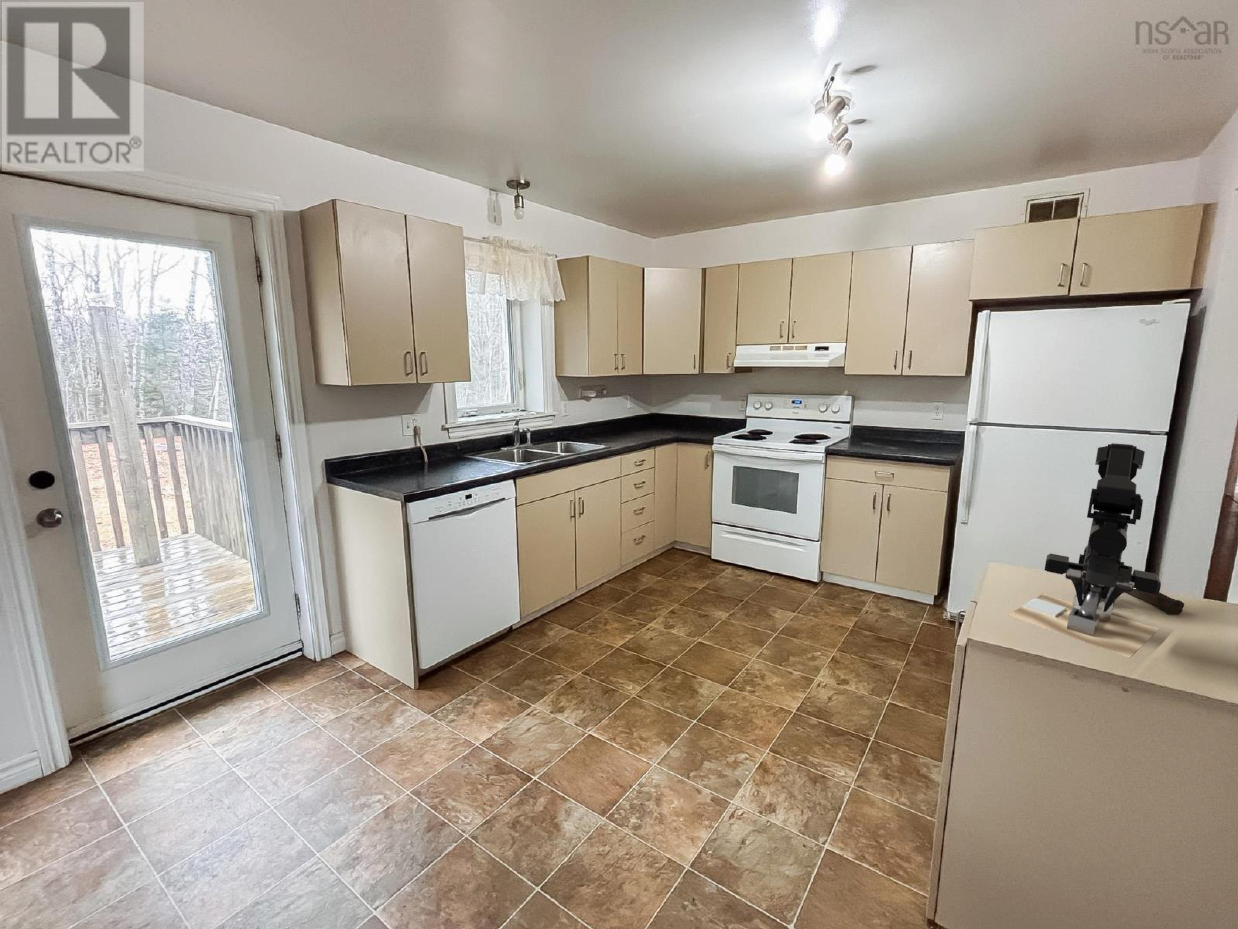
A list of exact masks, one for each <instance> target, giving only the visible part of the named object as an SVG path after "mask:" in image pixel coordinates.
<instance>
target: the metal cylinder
mask: <svg viewBox="0 0 1238 929" xmlns="http://www.w3.org/2000/svg"><path fill="white" fill-rule="evenodd" d="M1104 589H1105V586H1104V585H1101V584H1096V583H1095V584H1093V583H1089V582H1088V585H1087V588H1086V591H1085V594H1084V597H1083V600H1082V605H1081V606H1080V609H1079V612H1078V615H1077V616H1080V617H1084V618H1088V619H1091V620H1093V619H1094V617H1095V614H1096V611H1097V609H1098V606H1099V603H1100V600H1101V597H1102V594H1103V591H1104Z"/></svg>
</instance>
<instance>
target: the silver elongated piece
mask: <svg viewBox="0 0 1238 929" xmlns="http://www.w3.org/2000/svg"><path fill="white" fill-rule="evenodd" d="M1083 597H1084V594H1082V600H1083ZM1105 600H1106V599H1104V598H1101V600H1100V603H1099V606H1098V609H1097V611H1096V614H1095V617H1094V619H1093V620H1091V619H1088V618H1084V617H1080V616H1077V615H1078V612H1079V609H1080V606H1079V604H1078V599H1077V594H1075V595H1074V596H1073V602H1072V603H1073V606H1072V611H1071V612H1070V614H1069V618H1068V624H1067V629H1070V630H1073V631H1077V632H1080V633H1083V634H1087V635H1090V636H1094V634H1095V632H1096V630H1097V628H1098V622H1099V621H1100V622H1106V621H1109V620H1111V614H1112V613H1113V608H1114V603H1113V604H1112V605H1111V606H1110V607H1109V609H1108V610H1107V611H1106V612H1103V609H1104V603H1105ZM1112 615H1113V614H1112Z"/></svg>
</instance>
